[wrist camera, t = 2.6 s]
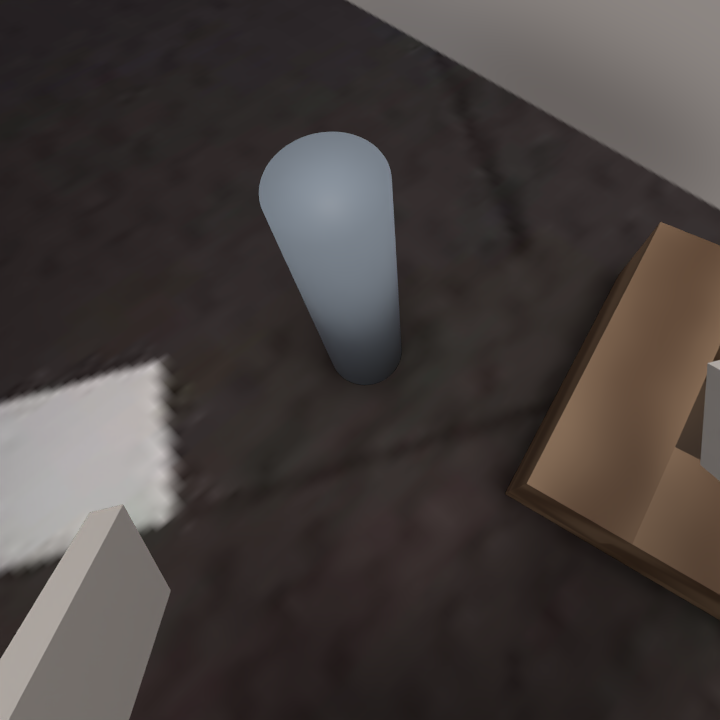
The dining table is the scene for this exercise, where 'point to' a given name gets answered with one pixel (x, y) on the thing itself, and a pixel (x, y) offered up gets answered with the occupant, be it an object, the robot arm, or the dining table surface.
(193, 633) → the dining table surface
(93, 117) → the dining table surface
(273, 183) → the dowel
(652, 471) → the bore block
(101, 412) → the dining table surface
